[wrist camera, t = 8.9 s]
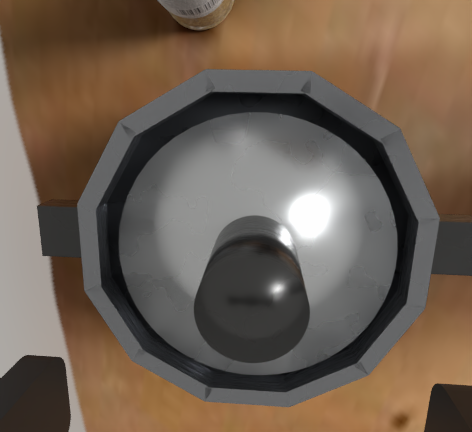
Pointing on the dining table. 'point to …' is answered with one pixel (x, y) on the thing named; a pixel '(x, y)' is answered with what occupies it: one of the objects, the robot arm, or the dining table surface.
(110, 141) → the pot
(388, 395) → the dining table surface
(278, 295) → the lid
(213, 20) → the sprinkles bottle
